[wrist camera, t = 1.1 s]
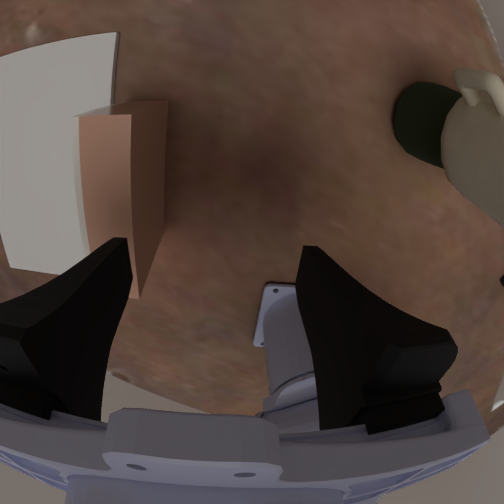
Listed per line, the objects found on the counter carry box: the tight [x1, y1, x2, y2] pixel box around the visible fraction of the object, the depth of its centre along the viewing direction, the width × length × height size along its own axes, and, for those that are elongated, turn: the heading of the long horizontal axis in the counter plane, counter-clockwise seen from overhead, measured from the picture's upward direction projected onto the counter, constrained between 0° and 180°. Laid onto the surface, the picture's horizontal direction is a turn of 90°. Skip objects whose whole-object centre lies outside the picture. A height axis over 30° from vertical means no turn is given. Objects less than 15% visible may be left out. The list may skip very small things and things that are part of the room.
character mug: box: [394, 68, 504, 228], centre depth 13 cm, size 11×7×13 cm, turn 48°
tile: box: [72, 100, 169, 299], centre depth 17 cm, size 3×10×8 cm, turn 172°
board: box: [0, 32, 120, 275], centre depth 19 cm, size 13×20×1 cm, turn 172°
